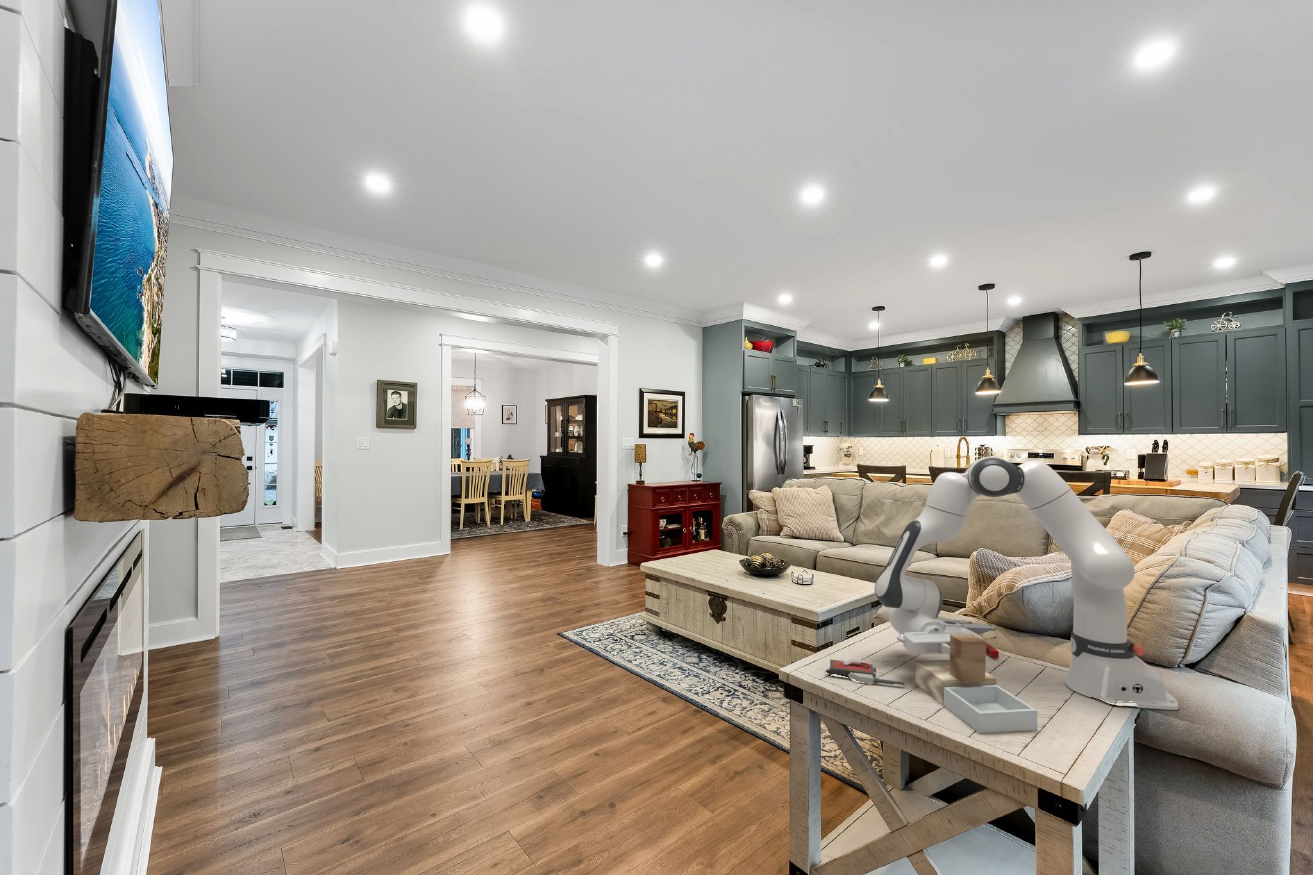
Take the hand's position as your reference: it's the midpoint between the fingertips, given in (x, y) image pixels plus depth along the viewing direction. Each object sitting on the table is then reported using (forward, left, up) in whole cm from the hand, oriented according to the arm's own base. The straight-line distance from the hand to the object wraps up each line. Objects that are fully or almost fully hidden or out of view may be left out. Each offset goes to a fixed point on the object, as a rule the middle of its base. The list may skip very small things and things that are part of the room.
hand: (961, 654), depth 144 cm
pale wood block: (+1, -2, -11) cm, 11 cm away
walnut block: (-1, +2, -5) cm, 6 cm away
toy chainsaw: (+23, -4, -12) cm, 26 cm away
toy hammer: (-8, -44, -12) cm, 46 cm away
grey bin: (-4, +9, -11) cm, 15 cm away
